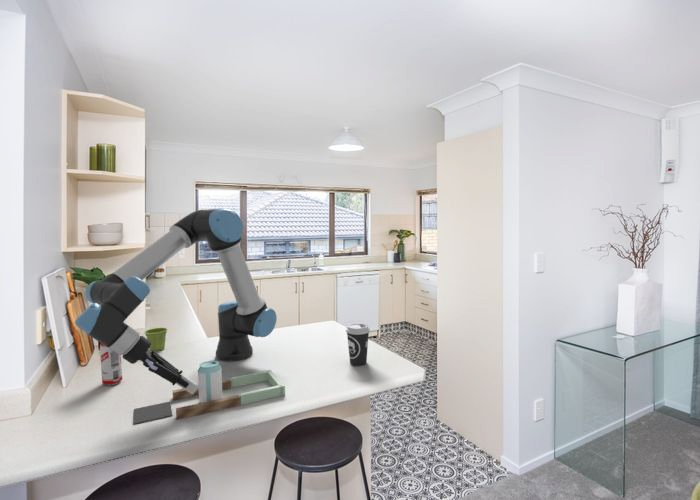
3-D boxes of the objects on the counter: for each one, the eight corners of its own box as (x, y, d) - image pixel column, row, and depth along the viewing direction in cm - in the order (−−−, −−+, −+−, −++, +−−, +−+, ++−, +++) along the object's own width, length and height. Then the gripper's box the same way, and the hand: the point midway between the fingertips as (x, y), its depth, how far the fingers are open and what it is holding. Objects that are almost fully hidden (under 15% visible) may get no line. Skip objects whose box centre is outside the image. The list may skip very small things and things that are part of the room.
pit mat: (133, 424, 111) (133, 423, 111) (134, 409, 120) (134, 408, 120) (172, 415, 116) (172, 414, 116) (170, 402, 124) (170, 401, 124)
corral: (240, 404, 122) (240, 395, 122) (230, 386, 136) (230, 377, 136) (285, 394, 128) (284, 385, 128) (270, 377, 143) (270, 369, 142)
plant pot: (148, 354, 170) (147, 334, 170) (142, 349, 177) (141, 330, 177) (171, 349, 176) (170, 330, 176) (164, 344, 184) (163, 326, 183)
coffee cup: (368, 368, 150) (367, 329, 149) (343, 366, 152) (343, 328, 151) (371, 359, 160) (371, 323, 159) (348, 358, 162) (348, 322, 161)
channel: (176, 419, 113) (176, 411, 113) (172, 397, 127) (172, 390, 127) (240, 405, 122) (239, 397, 122) (229, 386, 136) (229, 379, 136)
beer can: (107, 387, 136) (105, 342, 135) (98, 384, 139) (95, 339, 138) (126, 381, 141) (123, 337, 140) (116, 378, 145) (114, 335, 144)
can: (201, 396, 128) (200, 360, 127) (224, 394, 129) (222, 359, 128) (196, 406, 121) (195, 368, 120) (220, 404, 122) (219, 367, 121)
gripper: (122, 349, 118) (184, 392, 126) (119, 363, 106) (188, 409, 115) (141, 329, 120) (201, 373, 128) (140, 341, 108) (207, 387, 117)
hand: (195, 390), depth 122 cm, fingers closed
